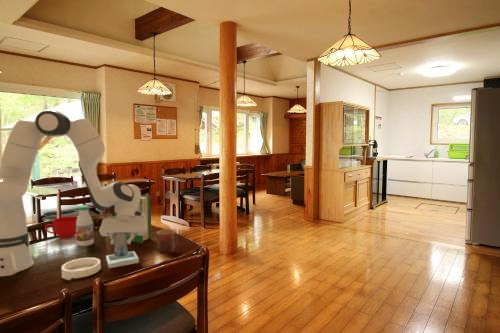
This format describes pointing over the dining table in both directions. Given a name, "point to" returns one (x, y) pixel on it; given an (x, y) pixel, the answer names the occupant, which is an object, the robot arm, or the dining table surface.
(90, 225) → the milk bottle
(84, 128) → the robot arm
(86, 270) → the bowl
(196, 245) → the dining table surface
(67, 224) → the ceramic cup
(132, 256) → the parts tray
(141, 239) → the hardback book
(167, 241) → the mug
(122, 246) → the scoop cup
